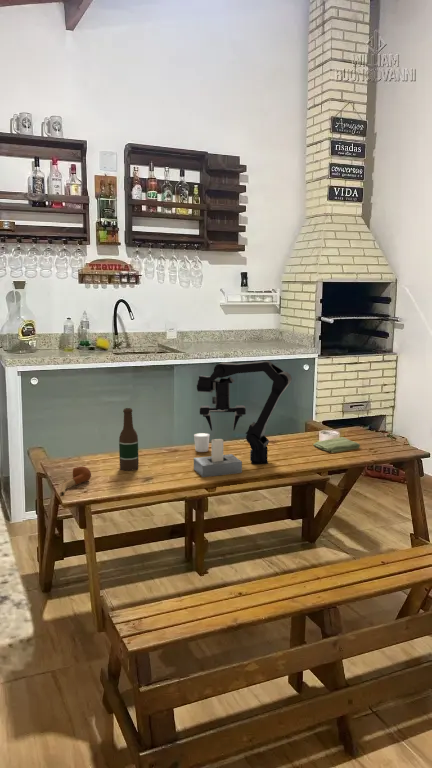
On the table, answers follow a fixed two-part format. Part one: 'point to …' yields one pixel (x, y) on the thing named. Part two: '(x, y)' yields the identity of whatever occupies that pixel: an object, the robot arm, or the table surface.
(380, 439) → the table surface
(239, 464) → the box
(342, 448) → the washcloth
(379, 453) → the table surface
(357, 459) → the table surface
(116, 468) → the table surface
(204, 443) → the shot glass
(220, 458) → the block
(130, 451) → the beer bottle
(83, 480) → the smoking pipe
